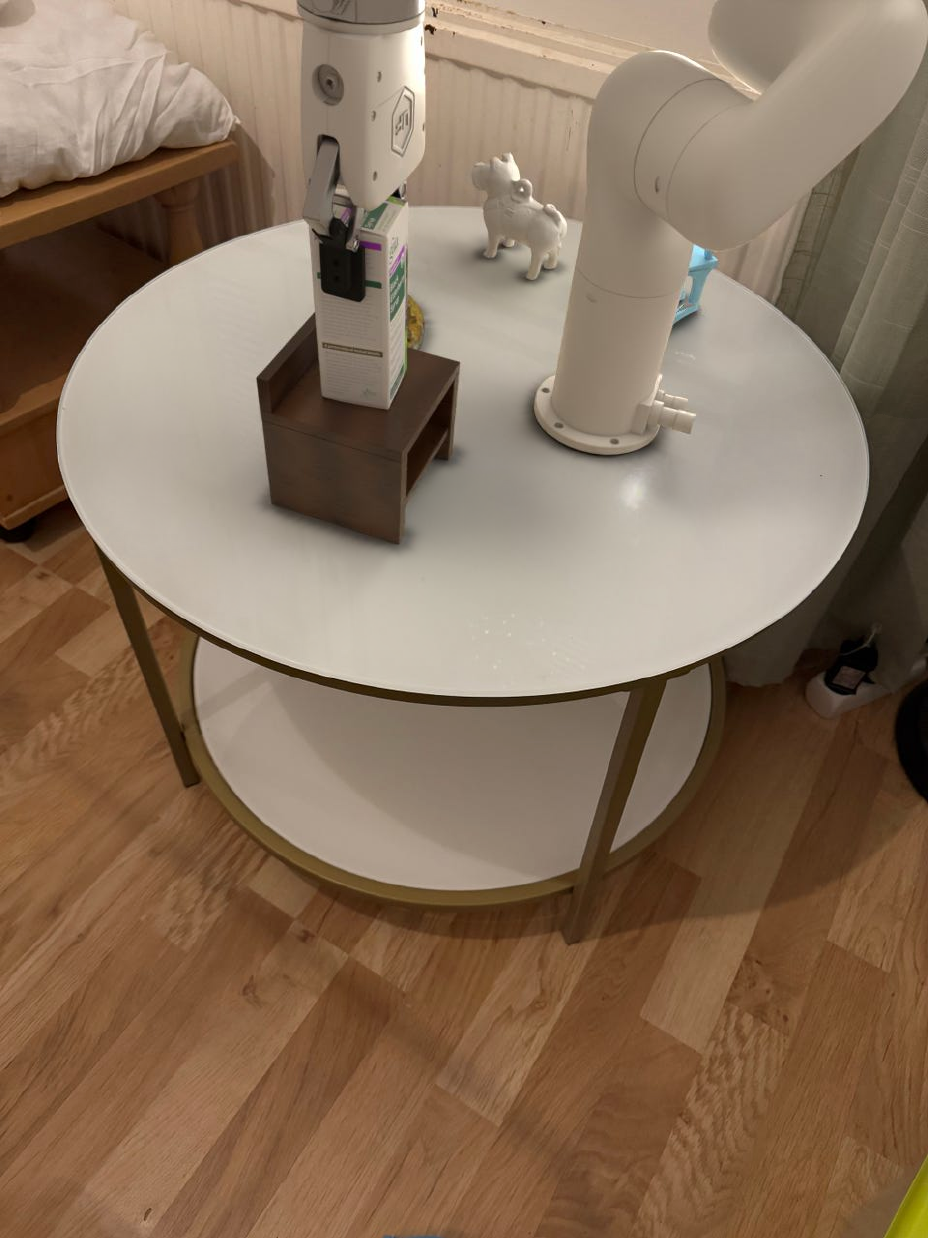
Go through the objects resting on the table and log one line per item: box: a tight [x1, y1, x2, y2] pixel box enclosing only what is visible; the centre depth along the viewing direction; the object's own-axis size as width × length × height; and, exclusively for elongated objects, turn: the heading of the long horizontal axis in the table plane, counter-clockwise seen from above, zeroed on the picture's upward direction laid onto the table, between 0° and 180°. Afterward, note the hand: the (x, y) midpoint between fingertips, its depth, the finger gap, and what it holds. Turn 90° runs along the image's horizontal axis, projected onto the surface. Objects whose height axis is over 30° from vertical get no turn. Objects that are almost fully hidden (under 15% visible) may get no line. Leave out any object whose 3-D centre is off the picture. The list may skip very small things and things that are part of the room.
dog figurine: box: [471, 152, 568, 281], centre depth 104 cm, size 5×13×11 cm, turn 50°
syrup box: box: [308, 187, 409, 410], centre depth 68 cm, size 6×6×14 cm
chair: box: [673, 244, 720, 325], centre depth 98 cm, size 8×8×12 cm
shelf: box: [255, 311, 461, 545], centre depth 76 cm, size 12×13×13 cm
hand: (363, 270), depth 66 cm, fingers closed on syrup box, 6 cm apart
